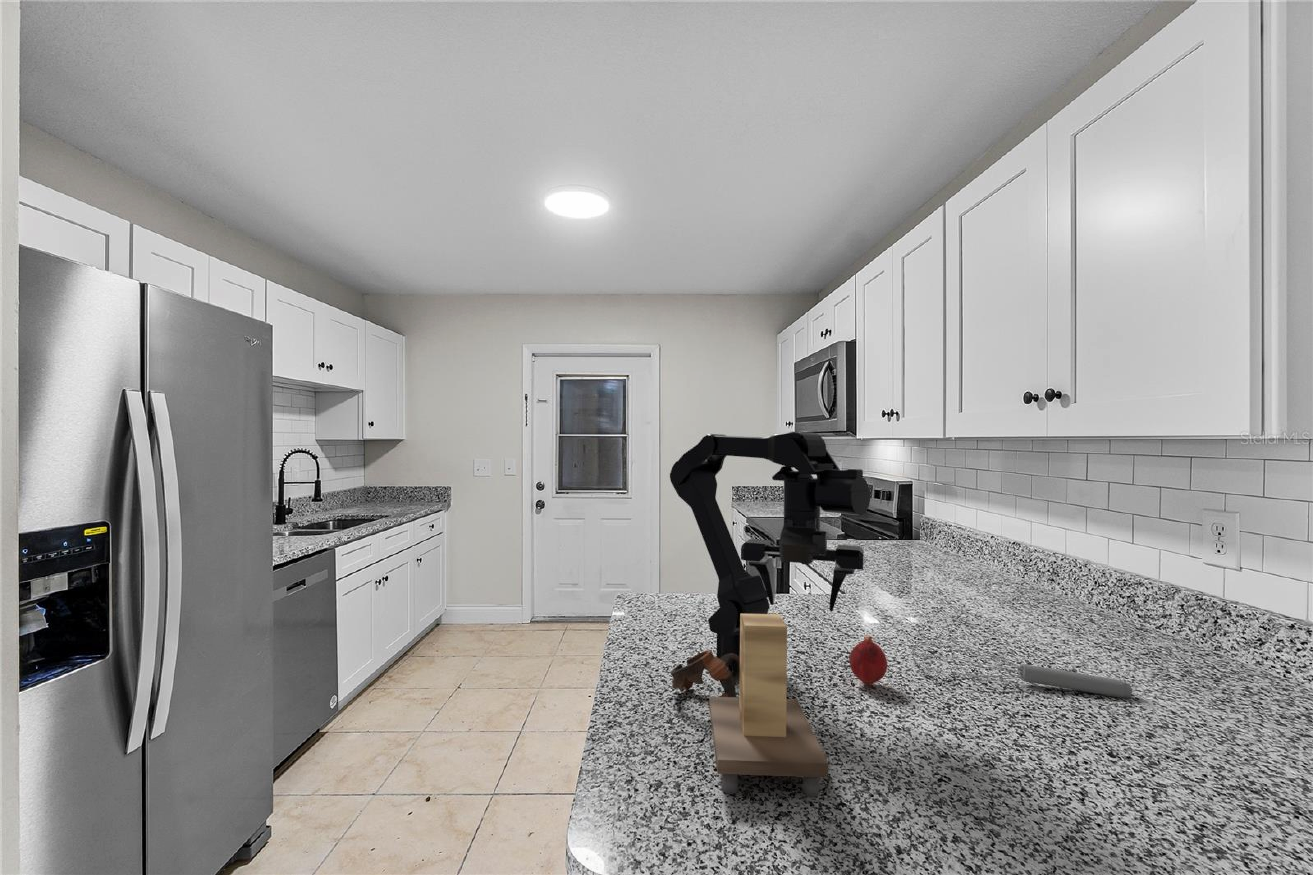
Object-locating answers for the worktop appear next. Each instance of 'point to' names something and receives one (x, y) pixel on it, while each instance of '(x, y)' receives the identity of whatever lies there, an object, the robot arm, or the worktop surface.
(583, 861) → the worktop surface
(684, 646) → the worktop surface
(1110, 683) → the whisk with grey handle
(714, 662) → the brown jagged curved piece
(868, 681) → the onion
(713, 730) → the footed wooden board
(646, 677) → the worktop surface
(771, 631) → the wooden block
